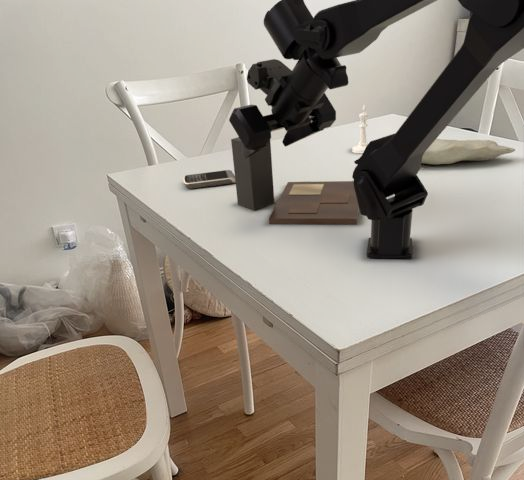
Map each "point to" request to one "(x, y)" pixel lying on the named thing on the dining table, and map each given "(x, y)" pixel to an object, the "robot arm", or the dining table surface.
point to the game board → (317, 203)
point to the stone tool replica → (462, 151)
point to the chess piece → (362, 133)
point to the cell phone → (209, 179)
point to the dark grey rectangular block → (253, 176)
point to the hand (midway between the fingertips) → (264, 150)
